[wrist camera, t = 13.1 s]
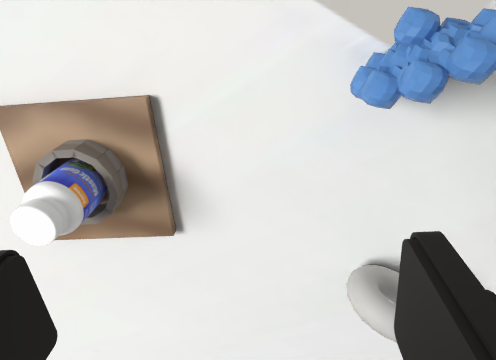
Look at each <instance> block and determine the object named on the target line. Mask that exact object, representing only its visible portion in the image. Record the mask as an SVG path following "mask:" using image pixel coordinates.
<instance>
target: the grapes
mask: <svg viewBox="0 0 496 360" xmlns="http://www.w3.org/2000/svg"><path fill="white" fill-rule="evenodd" d="M394 37H395V43H394V45H393V46H392V48H391V49H389V50H388V52H387V53H386V54H382V53H373V55H372V56H371V58H370V59H369V61H368V62H367V64H366V66H361V67H360V68H359V70H358V71H357V73H356V74H355V76H354V78H353V80H352V82H351V84H350V86H351V93H352V94H353V95H354V96H355V97H356V98H360V99H363V100H364V101H365V102H366V103H367V104H368V105H371V106H374V107H379V108H386V109H390V108H391V107H392V106H393V105H394V104H395V103H396V101H397V100H398V99H399V98H400V96H401V95H402V96H403V97H404V98H406V99H409V100H413V101H417V102H422V103H431V102H432V101H433V100H434V99H435V98H436V97H437V96H438V95H439V94H440V93H441V92H442V91H443V89H444V87H445V85H446V83H447V81H448V78H449V77H450V78H453V79H455V80H459V81H463V82H467V83H472V84H481V83H482V82H483V81H485V80H486V79H487V78H488V77H489V76H490V75H491V74H492V73H493V72H494V71H495V70H496V10H492V9H483V10H482V11H481V12H480V13H479V14H478V15H477V16H476V18H475V19H474V20H473V21H472V22H471V23H469V22H467V21H465V20H460V19H454V18H446V19H445V21H444V22H443V23H442V24H441V26H440V18H439V16H438V15H437V14H435V13H433V12H432V11H429V10H426V9H421V8H413V7H408V8H407V10H406V11H405V12H404V14H403V15H402V17H401V18H400V20H399V22H398V23H397V26H396V28H395V30H394Z"/></svg>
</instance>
